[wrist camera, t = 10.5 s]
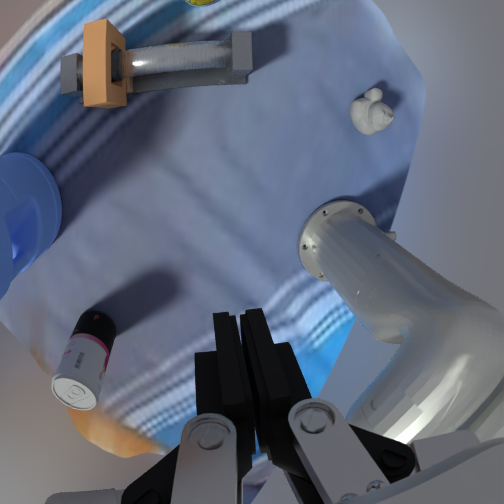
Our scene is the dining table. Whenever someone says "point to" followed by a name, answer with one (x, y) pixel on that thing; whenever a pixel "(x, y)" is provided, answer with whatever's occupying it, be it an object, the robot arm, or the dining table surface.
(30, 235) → the water jug
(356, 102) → the grey figurine
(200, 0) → the supplement bottle
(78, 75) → the pipe rig
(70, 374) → the beverage can
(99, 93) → the collar
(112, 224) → the dining table surface
